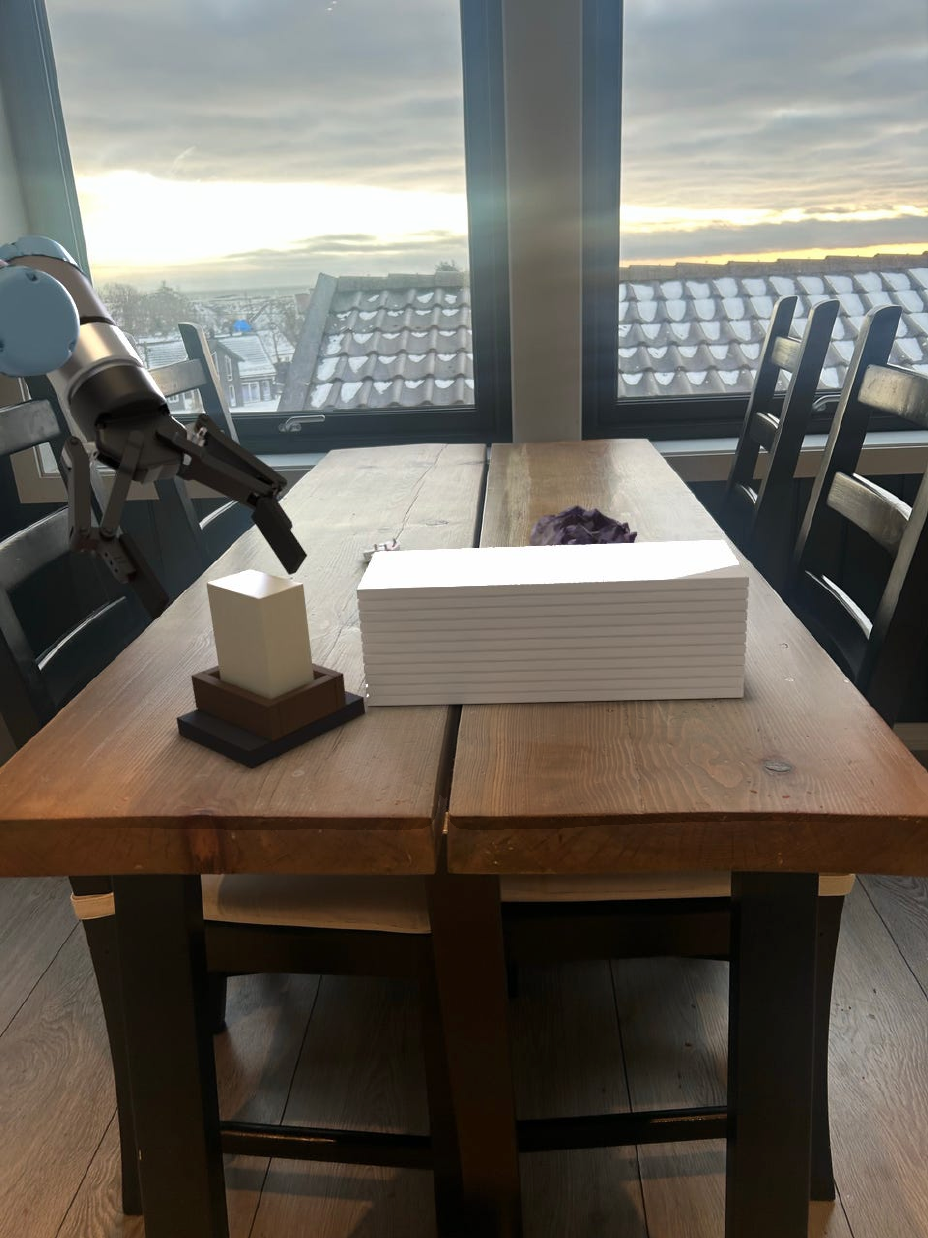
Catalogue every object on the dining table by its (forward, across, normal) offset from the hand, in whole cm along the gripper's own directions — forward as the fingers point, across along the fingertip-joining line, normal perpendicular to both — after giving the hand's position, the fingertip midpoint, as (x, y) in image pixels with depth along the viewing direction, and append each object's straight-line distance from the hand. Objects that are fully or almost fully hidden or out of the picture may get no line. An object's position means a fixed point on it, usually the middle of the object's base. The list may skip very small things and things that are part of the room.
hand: (233, 586), depth 82 cm
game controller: (-6, -40, -23) cm, 47 cm away
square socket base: (+10, 0, -6) cm, 12 cm away
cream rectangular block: (+9, 0, -5) cm, 11 cm away
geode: (+12, -42, -4) cm, 44 cm away
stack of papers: (+20, -21, +3) cm, 29 cm away
